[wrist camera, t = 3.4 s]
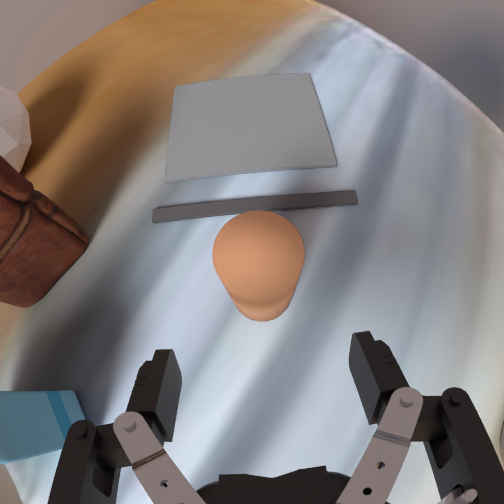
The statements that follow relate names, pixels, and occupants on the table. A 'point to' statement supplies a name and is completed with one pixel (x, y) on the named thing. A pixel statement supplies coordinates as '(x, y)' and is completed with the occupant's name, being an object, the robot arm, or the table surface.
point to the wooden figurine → (32, 240)
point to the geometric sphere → (13, 129)
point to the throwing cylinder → (259, 262)
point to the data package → (35, 422)
